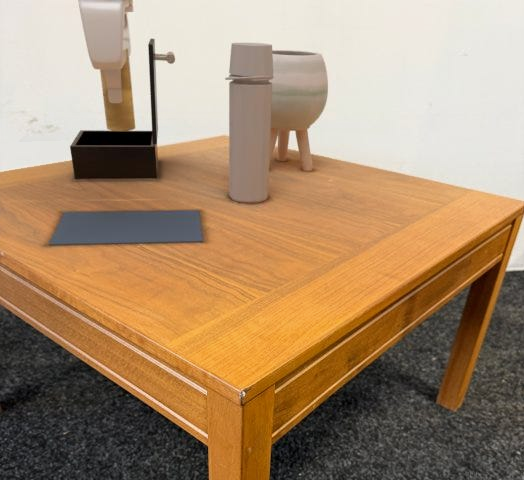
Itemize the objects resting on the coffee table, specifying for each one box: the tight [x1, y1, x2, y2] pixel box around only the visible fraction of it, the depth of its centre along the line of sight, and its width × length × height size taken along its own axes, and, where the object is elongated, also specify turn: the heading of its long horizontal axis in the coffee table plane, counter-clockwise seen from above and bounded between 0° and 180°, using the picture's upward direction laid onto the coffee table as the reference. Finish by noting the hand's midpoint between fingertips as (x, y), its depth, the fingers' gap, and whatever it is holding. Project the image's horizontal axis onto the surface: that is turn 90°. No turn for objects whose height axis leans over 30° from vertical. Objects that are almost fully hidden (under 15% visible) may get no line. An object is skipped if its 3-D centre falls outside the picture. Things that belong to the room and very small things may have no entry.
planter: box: [269, 49, 329, 172], centre depth 114 cm, size 16×16×22 cm
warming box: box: [69, 129, 159, 180], centre depth 111 cm, size 16×15×7 cm
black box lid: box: [147, 38, 176, 145], centre depth 106 cm, size 17×15×5 cm
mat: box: [48, 209, 204, 247], centre depth 86 cm, size 22×14×1 cm, turn 98°
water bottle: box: [224, 42, 274, 204], centre depth 95 cm, size 9×8×25 cm
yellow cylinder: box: [99, 49, 136, 131], centre depth 76 cm, size 4×4×10 cm
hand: (117, 99), depth 76 cm, fingers closed on yellow cylinder, 4 cm apart
